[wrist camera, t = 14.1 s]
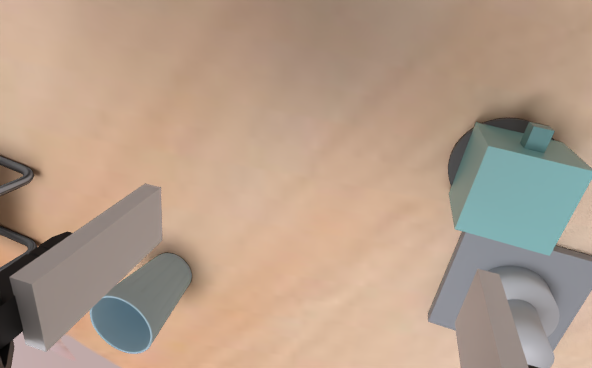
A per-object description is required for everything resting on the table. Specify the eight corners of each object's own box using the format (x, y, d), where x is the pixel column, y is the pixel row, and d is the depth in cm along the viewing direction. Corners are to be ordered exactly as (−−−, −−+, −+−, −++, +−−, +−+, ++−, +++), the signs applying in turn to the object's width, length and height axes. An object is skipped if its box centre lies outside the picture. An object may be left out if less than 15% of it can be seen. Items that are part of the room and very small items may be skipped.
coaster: (468, 107, 35) (468, 108, 34) (579, 132, 33) (581, 134, 33) (435, 197, 39) (435, 200, 38) (533, 224, 37) (534, 227, 36)
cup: (185, 240, 49) (131, 292, 40) (209, 291, 51) (163, 352, 42) (138, 249, 52) (77, 300, 43) (163, 297, 54) (110, 355, 45)
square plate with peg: (466, 221, 39) (479, 274, 31) (601, 258, 36) (652, 326, 28) (427, 314, 44) (429, 380, 36) (543, 351, 42) (573, 431, 34)
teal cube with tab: (527, 214, 36) (549, 256, 30) (448, 193, 37) (454, 229, 31) (572, 123, 32) (608, 148, 26) (483, 102, 34) (497, 122, 27)
